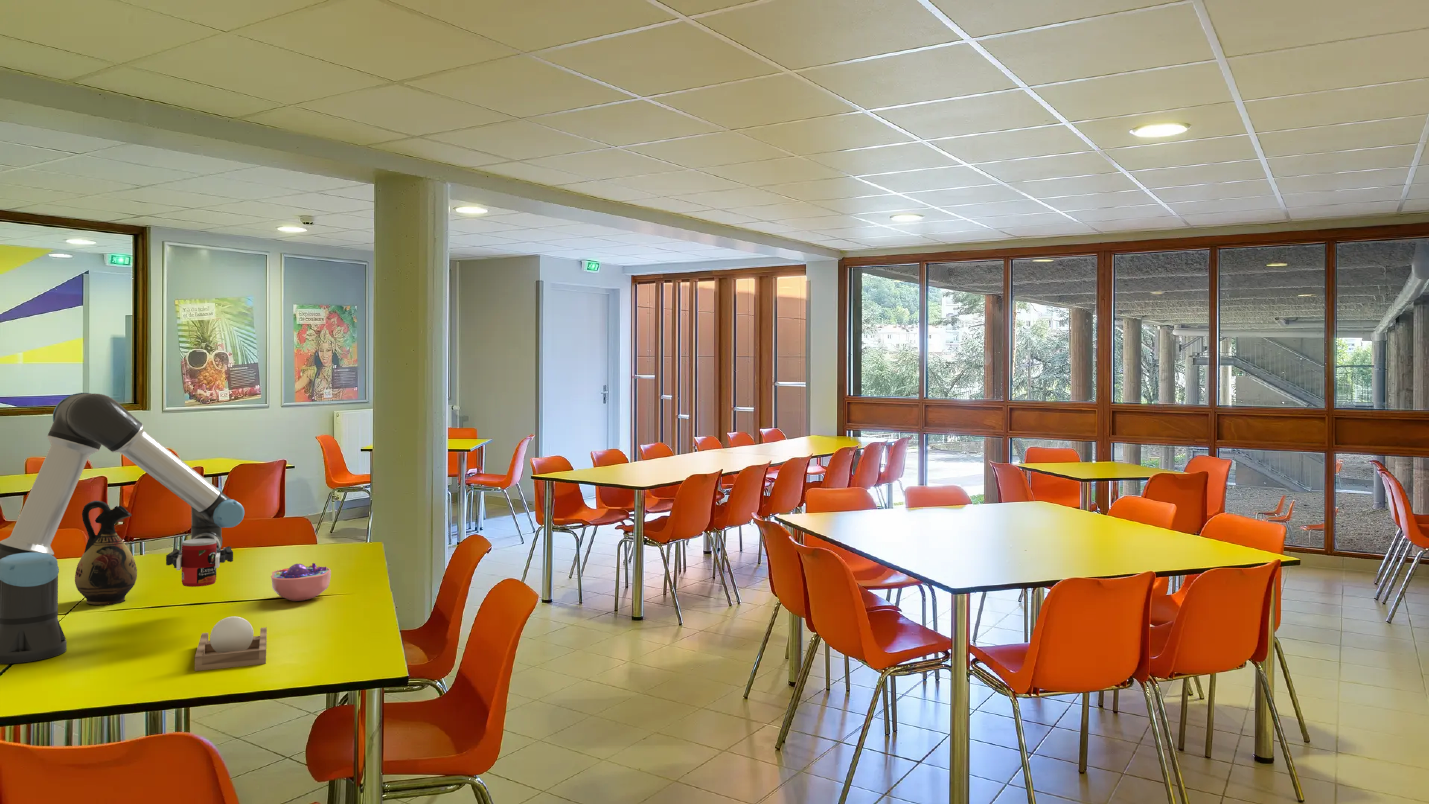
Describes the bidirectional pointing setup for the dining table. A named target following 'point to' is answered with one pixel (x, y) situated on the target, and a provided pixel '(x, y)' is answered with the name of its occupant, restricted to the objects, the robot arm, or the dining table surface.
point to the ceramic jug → (105, 559)
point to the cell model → (301, 581)
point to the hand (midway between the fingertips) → (197, 563)
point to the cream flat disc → (231, 635)
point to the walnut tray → (230, 654)
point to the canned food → (198, 562)
